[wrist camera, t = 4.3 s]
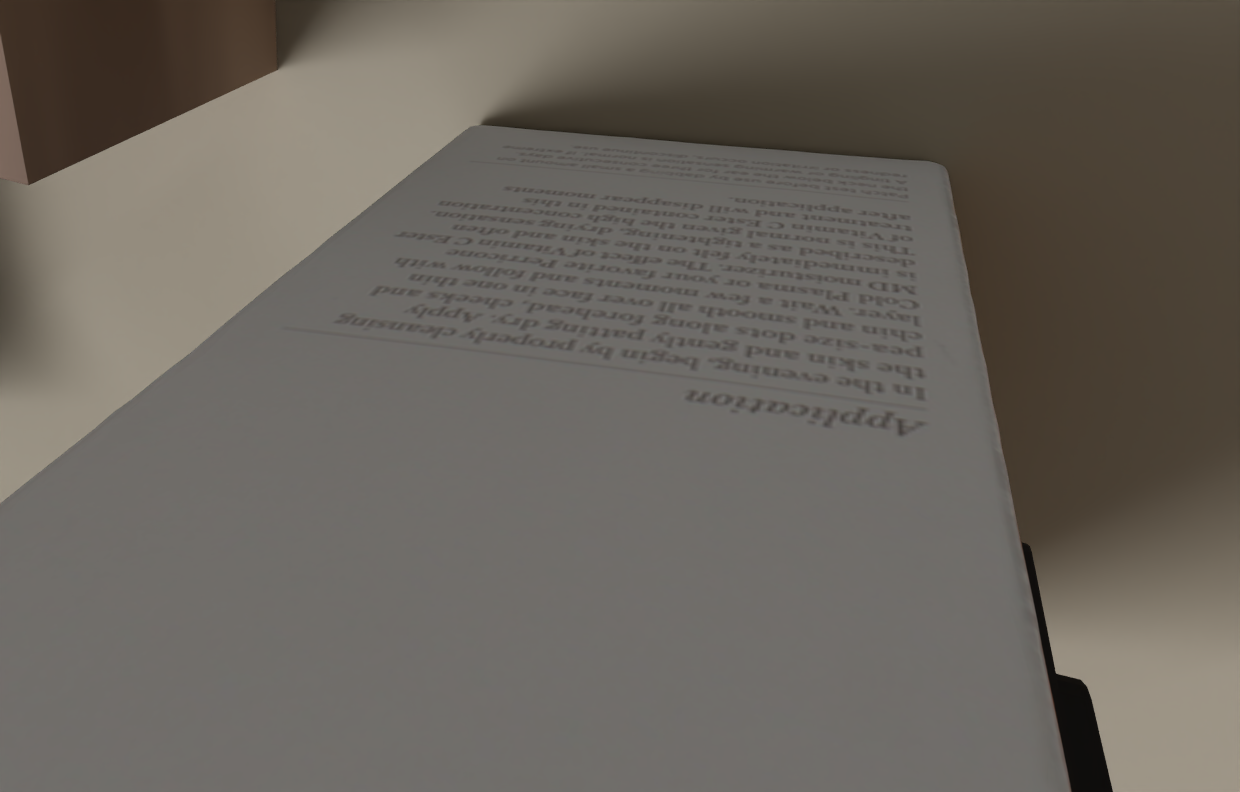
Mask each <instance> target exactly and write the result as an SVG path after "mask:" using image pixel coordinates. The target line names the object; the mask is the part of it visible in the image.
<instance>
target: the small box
mask: <svg viewBox="0 0 1240 792" xmlns="http://www.w3.org/2000/svg"><path fill="white" fill-rule="evenodd" d="M0 792H1071V787H1070V782H1069V777H1068V772H1067V766H1066V761H1065V756H1064V751H1063V746H1062V742H1061V737H1060V732H1059V727H1058V722H1057V717H1056V712H1055V707H1054V702H1053V697H1052V692H1051V688H1050V683H1049V678H1048V673H1047V668H1046V664H1045V659H1044V654H1043V649H1042V644H1041V638H1040V633H1039V627H1038V622H1037V617H1036V612H1035V607H1034V602H1033V597H1032V592H1031V588H1030V583H1029V578H1028V573H1027V568H1026V563H1025V558H1024V553H1023V548H1022V544H1021V539H1020V534H1019V529H1018V523H1017V518H1016V513H1015V508H1014V503H1013V498H1012V493H1011V488H1010V483H1009V478H1008V473H1007V468H1006V464H1005V459H1004V455H1003V449H1002V443H1001V437H1000V431H999V426H998V421H997V417H996V413H995V409H994V405H993V401H992V395H991V389H990V383H989V377H988V371H987V366H986V362H985V357H984V353H983V348H982V344H981V339H980V334H979V329H978V324H977V318H976V312H975V307H974V303H973V300H972V296H971V291H970V284H969V278H968V272H967V267H966V262H965V257H964V252H963V246H962V240H961V234H960V230H959V225H958V221H957V217H956V212H955V207H954V201H953V195H952V190H951V185H950V180H949V175H948V171H947V170H946V168H945V167H944V166H942V165H940V164H938V163H933V162H930V161H917V160H900V159H887V158H874V157H860V156H846V155H833V154H820V153H810V152H799V151H788V150H774V149H760V148H747V147H733V146H720V145H708V144H696V143H684V142H674V141H663V140H650V139H641V138H632V137H615V136H602V135H591V134H579V133H567V132H555V131H542V130H530V129H520V128H509V127H498V126H485V125H478V126H472V127H470V128H468V129H467V130H465V131H464V132H463V133H461V134H460V135H459V136H458V137H456V138H455V139H454V140H453V141H451V142H450V143H449V144H448V145H446V146H445V147H444V148H442V149H441V150H440V151H439V152H437V153H436V154H435V155H434V156H432V157H431V158H430V159H429V160H427V161H426V162H425V163H423V164H422V165H421V166H420V167H418V168H417V169H416V170H415V171H413V172H412V173H411V174H410V175H408V176H407V177H406V178H405V179H403V180H402V181H401V182H400V183H398V184H397V185H396V186H395V187H393V188H392V189H391V190H390V191H388V192H387V193H386V194H385V195H383V196H382V197H381V198H380V199H378V200H377V201H376V202H375V203H373V204H372V205H371V206H370V207H369V208H367V209H366V210H365V211H364V212H362V213H361V214H360V215H359V216H357V217H356V218H355V219H353V220H352V221H351V222H350V223H348V224H347V225H346V226H344V227H343V228H342V229H341V230H339V231H338V232H337V233H335V234H334V235H333V236H331V237H330V238H329V239H328V240H327V241H326V242H324V243H323V244H322V245H321V246H320V247H319V248H317V249H316V250H315V251H314V252H313V253H311V254H310V255H309V256H308V257H306V258H305V259H304V260H303V261H301V262H300V263H299V264H297V265H296V266H295V267H293V268H292V269H291V270H289V271H288V272H287V273H286V274H284V275H283V276H282V277H281V278H279V279H278V280H277V281H276V282H274V283H273V284H272V285H271V286H270V287H268V288H267V289H266V290H265V291H264V292H262V293H261V294H260V295H259V296H258V297H256V298H255V299H254V300H253V301H252V302H250V303H249V304H248V305H247V306H245V307H244V308H243V309H242V310H241V311H239V312H238V313H237V314H236V315H235V316H233V317H232V318H231V319H230V320H229V321H227V322H226V323H225V324H224V325H223V326H221V327H220V328H219V329H218V330H217V331H216V332H214V333H213V334H212V335H211V336H210V337H209V338H207V339H206V340H205V341H204V342H203V343H202V344H200V345H199V346H198V347H197V348H196V349H195V350H193V351H192V352H191V353H190V354H189V355H187V356H186V357H185V358H183V359H182V360H181V361H179V362H178V363H177V364H175V365H174V366H173V367H171V368H170V369H169V370H167V371H166V372H165V373H164V374H162V375H161V376H160V377H159V378H157V379H156V380H155V381H154V382H153V383H151V384H150V385H149V386H148V387H146V388H145V389H144V390H143V391H142V392H140V393H139V394H138V395H137V396H135V397H134V398H133V399H132V400H130V401H129V402H128V403H126V404H125V405H123V406H122V407H121V408H119V409H118V410H116V411H115V412H114V413H112V414H111V415H110V416H109V417H108V418H107V419H105V420H104V421H103V422H102V423H101V424H100V425H98V426H97V427H96V428H95V429H94V430H92V431H91V432H90V433H89V434H87V435H86V436H85V437H84V438H82V439H81V440H80V441H79V442H77V443H76V444H75V445H73V446H72V447H71V448H70V449H68V450H67V451H66V452H65V453H63V454H62V455H61V456H60V457H58V458H57V459H56V460H54V461H53V462H52V463H51V464H49V465H48V466H47V467H46V468H44V469H43V470H42V471H41V472H39V473H38V474H37V475H35V476H34V477H33V478H32V479H30V480H29V481H28V482H27V483H25V484H24V485H23V486H22V487H20V488H19V489H18V490H17V491H15V492H14V493H13V494H12V495H10V496H9V497H8V498H7V499H5V500H4V501H3V502H2V503H1V504H0Z"/></svg>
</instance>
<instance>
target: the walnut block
mask: <svg viewBox="0 0 1240 792" xmlns="http://www.w3.org/2000/svg"><path fill="white" fill-rule="evenodd" d="M276 70H278V69H277V40H276V12H275V0H0V178H2V179H6V180H10V181H14V182H18V183H22V184H26V185H30V184H32V183H34V182H36V181H38V180H41V179H43V178H45V177H47V176H49V175H51V174H54V173H56V172H58V171H60V170H62V169H64V168H67V167H69V166H71V165H73V164H75V163H77V162H80V161H82V160H84V159H86V158H88V157H90V156H92V155H95V154H97V153H99V152H101V151H103V150H105V149H108V148H110V147H112V146H114V145H116V144H118V143H121V142H123V141H125V140H127V139H129V138H131V137H133V136H136V135H138V134H140V133H142V132H144V131H146V130H149V129H151V128H153V127H155V126H157V125H159V124H162V123H164V122H166V121H168V120H170V119H172V118H175V117H177V116H179V115H181V114H183V113H185V112H187V111H190V110H192V109H194V108H196V107H198V106H200V105H203V104H205V103H207V102H209V101H211V100H213V99H216V98H218V97H220V96H222V95H224V94H226V93H229V92H231V91H233V90H235V89H237V88H239V87H241V86H244V85H246V84H248V83H250V82H252V81H254V80H257V79H259V78H261V77H263V76H265V75H267V74H270V73H272V72H274V71H276Z"/></svg>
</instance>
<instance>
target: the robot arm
mask: <svg viewBox="0 0 1240 792" xmlns="http://www.w3.org/2000/svg"><path fill="white" fill-rule="evenodd" d="M1021 544H1022V548H1023V553H1024V558H1025V563H1026V568H1027V573H1028V578H1029V583H1030V588H1031V592H1032V597H1033V602H1034V607H1035V612H1036V617H1037V622H1038V627H1039V633H1040V638H1041V644H1042V649H1043V654H1044V659H1045V664H1046V668H1047V673H1048V678H1049V683H1050V688H1051V692H1052V697H1053V702H1054V707H1055V712H1056V717H1057V722H1058V727H1059V732H1060V737H1061V742H1062V746H1063V751H1064V756H1065V761H1066V766H1067V772H1068V777H1069V782H1070V787H1071V792H1113V790H1112V786H1111V782H1110V777H1109V773H1108V769H1107V764H1106V760H1105V756H1104V752H1103V747H1102V743H1101V739H1100V734H1099V730H1098V726H1097V721H1096V717H1095V713H1094V708H1093V704H1092V700H1091V697H1090V694H1089V691H1088V688H1087V686H1086V685H1085V684H1084V683H1083V682H1082V681H1081V680H1079V679H1075V678H1071V677H1067V676H1063V675H1059V674H1056V672H1055V667H1054V662H1053V657H1052V652H1051V647H1050V642H1049V637H1048V632H1047V627H1046V621H1045V616H1044V611H1043V606H1042V601H1041V596H1040V591H1039V586H1038V581H1037V576H1036V571H1035V566H1034V561H1033V556H1032V552H1031V549H1030V546H1029V545H1028V544H1026V543H1022V542H1021Z"/></svg>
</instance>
